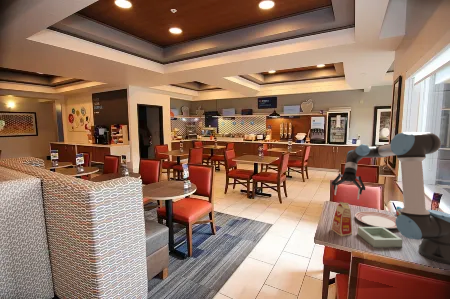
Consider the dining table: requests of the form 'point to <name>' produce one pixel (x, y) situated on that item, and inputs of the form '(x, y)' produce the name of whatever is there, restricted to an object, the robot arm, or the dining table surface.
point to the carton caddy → (379, 237)
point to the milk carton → (342, 220)
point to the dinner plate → (377, 219)
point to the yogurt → (398, 210)
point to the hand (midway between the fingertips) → (346, 196)
